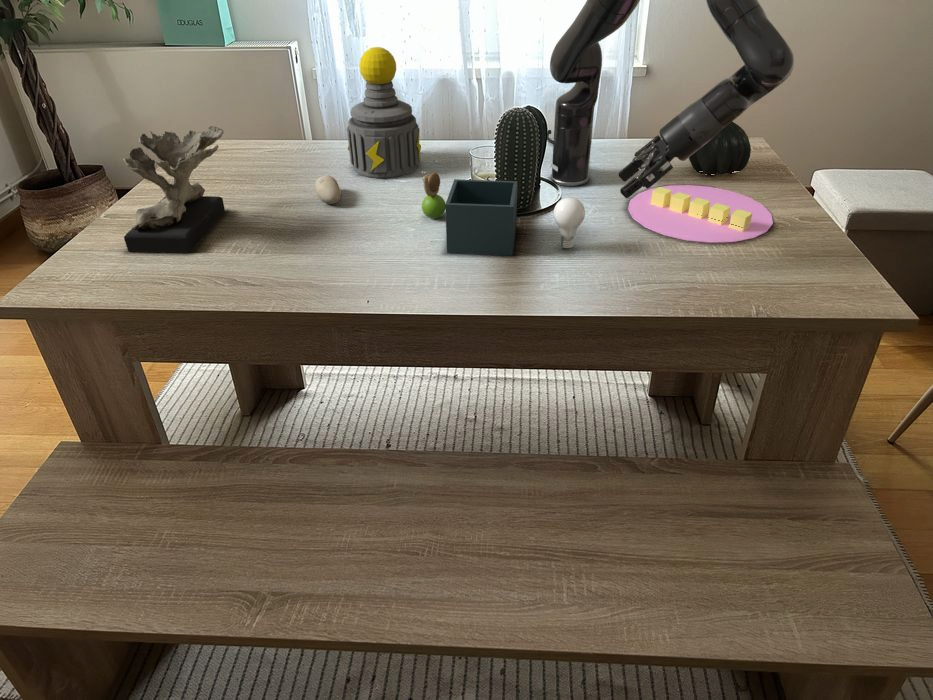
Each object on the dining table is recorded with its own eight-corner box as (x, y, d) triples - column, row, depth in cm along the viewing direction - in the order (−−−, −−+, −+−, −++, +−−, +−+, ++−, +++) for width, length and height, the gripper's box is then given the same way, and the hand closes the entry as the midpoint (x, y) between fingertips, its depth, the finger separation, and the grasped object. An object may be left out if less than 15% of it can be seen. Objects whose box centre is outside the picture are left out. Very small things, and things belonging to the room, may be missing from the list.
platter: (732, 257, 142) (736, 242, 140) (600, 214, 160) (602, 200, 158) (796, 209, 161) (800, 195, 159) (671, 175, 179) (673, 163, 177)
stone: (321, 200, 162) (303, 171, 169) (330, 219, 168) (312, 189, 174) (343, 189, 163) (324, 160, 169) (352, 207, 168) (333, 178, 175)
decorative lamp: (361, 153, 196) (349, 38, 179) (427, 156, 194) (421, 39, 177) (342, 178, 181) (327, 55, 164) (413, 181, 179) (406, 56, 162)
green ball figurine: (415, 221, 159) (412, 170, 152) (429, 210, 163) (427, 160, 157) (436, 225, 157) (434, 174, 150) (450, 215, 161) (448, 164, 154)
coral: (175, 204, 168) (151, 114, 156) (257, 206, 167) (240, 115, 154) (124, 251, 148) (92, 152, 136) (217, 255, 146) (193, 154, 134)
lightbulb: (562, 257, 143) (566, 207, 137) (545, 245, 148) (548, 196, 142) (588, 250, 146) (592, 200, 139) (570, 238, 150) (574, 190, 144)
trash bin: (455, 225, 157) (454, 179, 150) (516, 227, 155) (517, 181, 149) (446, 253, 146) (445, 204, 139) (512, 256, 144) (513, 206, 138)
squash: (760, 164, 170) (755, 106, 172) (697, 167, 170) (693, 109, 172) (740, 185, 184) (735, 130, 186) (682, 188, 185) (678, 133, 186)
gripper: (675, 103, 134) (608, 160, 142) (683, 126, 123) (610, 186, 131) (698, 132, 137) (631, 185, 145) (709, 157, 125) (636, 214, 133)
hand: (621, 186), depth 138 cm, fingers open, 8 cm apart
